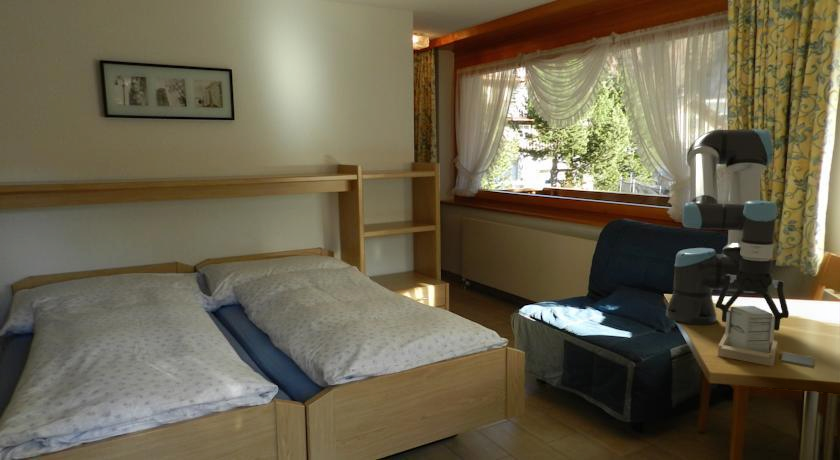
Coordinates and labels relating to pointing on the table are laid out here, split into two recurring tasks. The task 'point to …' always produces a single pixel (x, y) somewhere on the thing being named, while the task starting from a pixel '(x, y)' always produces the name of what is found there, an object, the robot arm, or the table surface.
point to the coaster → (797, 359)
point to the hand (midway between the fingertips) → (748, 337)
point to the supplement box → (749, 328)
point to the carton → (747, 352)
